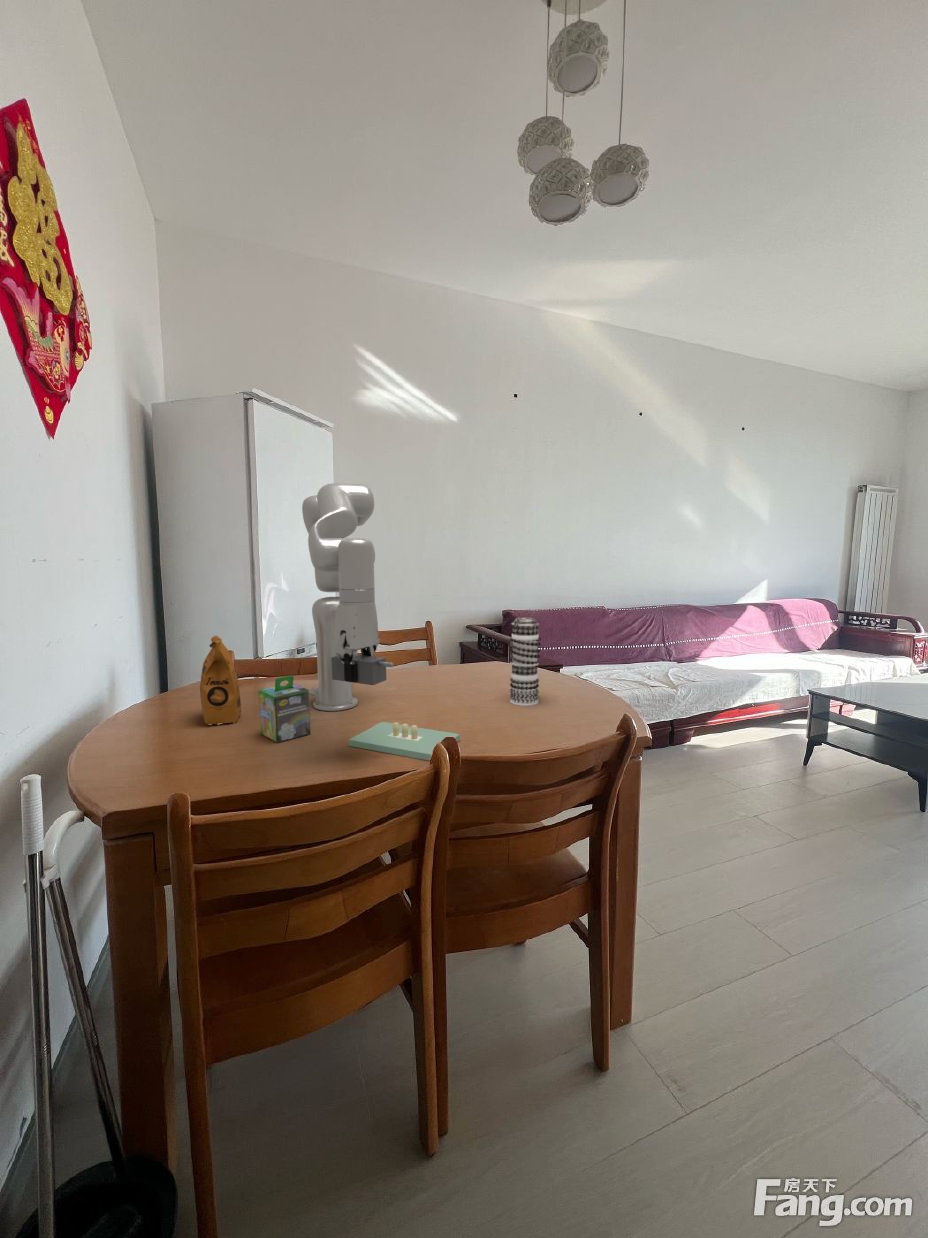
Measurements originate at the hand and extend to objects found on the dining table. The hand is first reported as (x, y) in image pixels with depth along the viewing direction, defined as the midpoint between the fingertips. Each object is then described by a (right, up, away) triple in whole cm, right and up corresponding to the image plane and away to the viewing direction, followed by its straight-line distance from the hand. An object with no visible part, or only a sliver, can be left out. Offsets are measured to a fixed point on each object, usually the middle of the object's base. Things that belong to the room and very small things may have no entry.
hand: (359, 677), depth 120 cm
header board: (+9, -16, +8) cm, 20 cm away
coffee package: (-42, -14, +26) cm, 51 cm away
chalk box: (-21, -16, +14) cm, 30 cm away
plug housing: (+2, -1, -1) cm, 2 cm away
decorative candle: (+41, -12, +42) cm, 60 cm away
